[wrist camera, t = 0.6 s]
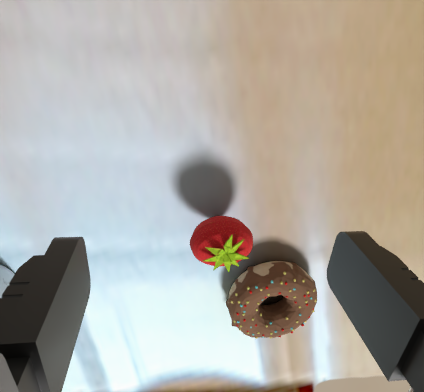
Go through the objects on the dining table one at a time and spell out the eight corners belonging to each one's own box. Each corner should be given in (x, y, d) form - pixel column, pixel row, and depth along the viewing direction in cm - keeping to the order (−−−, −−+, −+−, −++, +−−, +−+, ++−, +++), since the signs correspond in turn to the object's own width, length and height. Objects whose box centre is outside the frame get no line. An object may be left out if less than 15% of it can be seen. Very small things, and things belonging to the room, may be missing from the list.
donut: (214, 268, 47) (218, 294, 42) (304, 243, 46) (318, 266, 42) (236, 329, 54) (241, 357, 49) (314, 308, 53) (327, 334, 49)
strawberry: (187, 200, 41) (190, 248, 32) (245, 196, 41) (263, 243, 33) (189, 238, 43) (192, 291, 35) (243, 234, 44) (260, 286, 35)
